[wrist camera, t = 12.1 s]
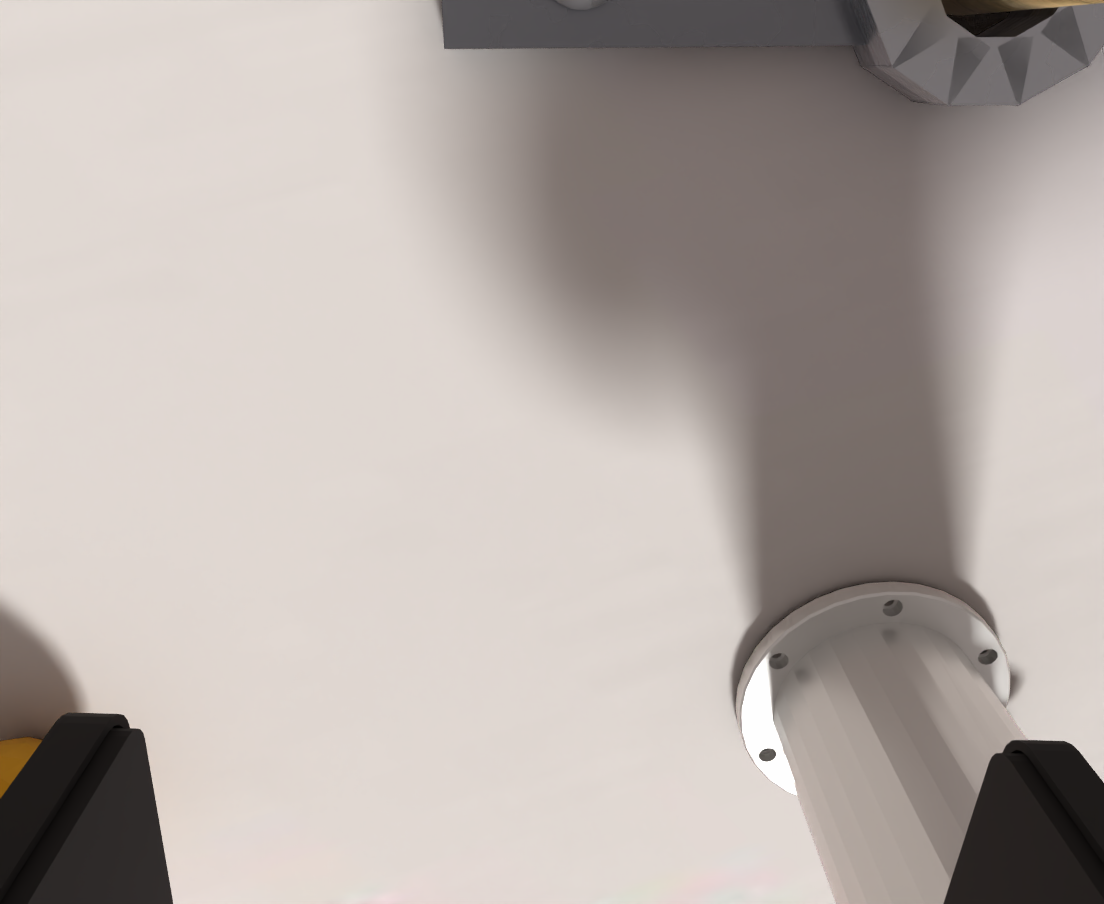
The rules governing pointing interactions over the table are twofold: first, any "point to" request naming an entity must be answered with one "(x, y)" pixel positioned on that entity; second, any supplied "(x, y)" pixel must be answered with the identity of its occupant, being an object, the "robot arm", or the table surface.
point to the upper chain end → (978, 50)
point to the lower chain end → (666, 25)
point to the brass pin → (1005, 5)
